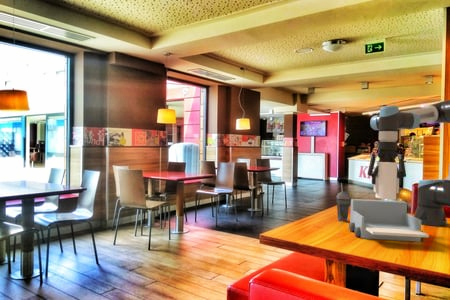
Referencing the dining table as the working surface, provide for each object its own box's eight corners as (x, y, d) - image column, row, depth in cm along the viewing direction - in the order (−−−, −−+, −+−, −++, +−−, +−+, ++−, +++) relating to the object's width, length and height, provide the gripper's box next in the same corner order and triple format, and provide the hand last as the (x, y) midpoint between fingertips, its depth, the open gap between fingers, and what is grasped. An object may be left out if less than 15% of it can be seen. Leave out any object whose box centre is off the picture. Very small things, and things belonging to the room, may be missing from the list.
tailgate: (418, 230, 137) (428, 234, 128) (418, 232, 137) (428, 237, 128) (365, 227, 139) (372, 231, 130) (365, 229, 139) (372, 234, 130)
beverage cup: (351, 222, 169) (352, 184, 168) (336, 221, 170) (337, 183, 170) (348, 219, 176) (349, 182, 176) (334, 218, 177) (335, 181, 177)
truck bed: (406, 230, 155) (407, 201, 155) (424, 241, 137) (425, 208, 137) (346, 227, 158) (347, 198, 158) (357, 237, 140) (358, 205, 140)
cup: (399, 199, 141) (400, 162, 141) (379, 198, 142) (380, 162, 142) (391, 196, 149) (392, 161, 149) (372, 196, 150) (374, 161, 150)
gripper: (409, 142, 148) (407, 192, 148) (360, 140, 150) (358, 190, 151) (416, 141, 140) (414, 194, 141) (365, 140, 143) (363, 192, 143)
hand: (385, 192), depth 146 cm, fingers closed on cup, 8 cm apart
